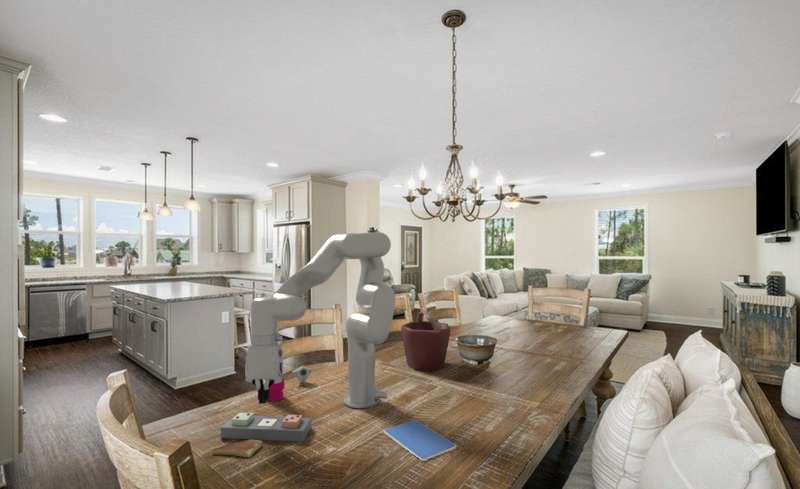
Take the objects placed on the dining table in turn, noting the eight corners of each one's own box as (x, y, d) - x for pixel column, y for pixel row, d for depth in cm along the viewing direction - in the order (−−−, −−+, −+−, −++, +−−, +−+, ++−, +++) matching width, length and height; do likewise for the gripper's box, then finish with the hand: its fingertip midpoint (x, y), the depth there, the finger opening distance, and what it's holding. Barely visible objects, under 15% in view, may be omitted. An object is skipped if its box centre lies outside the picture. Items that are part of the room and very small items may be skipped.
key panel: (311, 428, 114) (311, 418, 114) (302, 441, 106) (302, 430, 106) (235, 424, 116) (235, 415, 116) (220, 437, 108) (220, 427, 108)
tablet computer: (458, 449, 103) (458, 445, 103) (422, 465, 96) (422, 459, 96) (415, 422, 119) (415, 418, 119) (381, 434, 111) (381, 429, 111)
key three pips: (302, 421, 112) (302, 414, 112) (296, 428, 108) (296, 421, 108) (287, 421, 112) (287, 413, 112) (281, 428, 108) (282, 420, 108)
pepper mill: (278, 403, 132) (278, 345, 132) (259, 401, 133) (260, 344, 134) (288, 395, 139) (288, 341, 139) (270, 393, 140) (270, 340, 141)
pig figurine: (311, 379, 155) (311, 363, 156) (313, 383, 152) (313, 366, 152) (291, 382, 152) (291, 366, 152) (293, 386, 148) (293, 369, 148)
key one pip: (277, 425, 113) (277, 418, 113) (271, 433, 108) (271, 425, 108) (263, 425, 113) (263, 417, 113) (256, 432, 109) (256, 424, 109)
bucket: (451, 374, 162) (452, 317, 163) (400, 374, 163) (401, 316, 163) (445, 358, 187) (446, 308, 187) (401, 357, 187) (401, 307, 188)
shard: (211, 455, 99) (211, 448, 99) (229, 441, 107) (229, 434, 107) (248, 460, 97) (248, 453, 97) (264, 445, 105) (264, 438, 105)
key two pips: (253, 419, 113) (253, 412, 113) (246, 426, 109) (246, 419, 109) (239, 419, 114) (239, 411, 114) (231, 426, 109) (231, 418, 109)
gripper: (293, 337, 114) (293, 397, 114) (245, 336, 115) (245, 396, 115) (284, 343, 107) (283, 408, 107) (233, 342, 108) (232, 406, 108)
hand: (263, 401), depth 111 cm, fingers closed
